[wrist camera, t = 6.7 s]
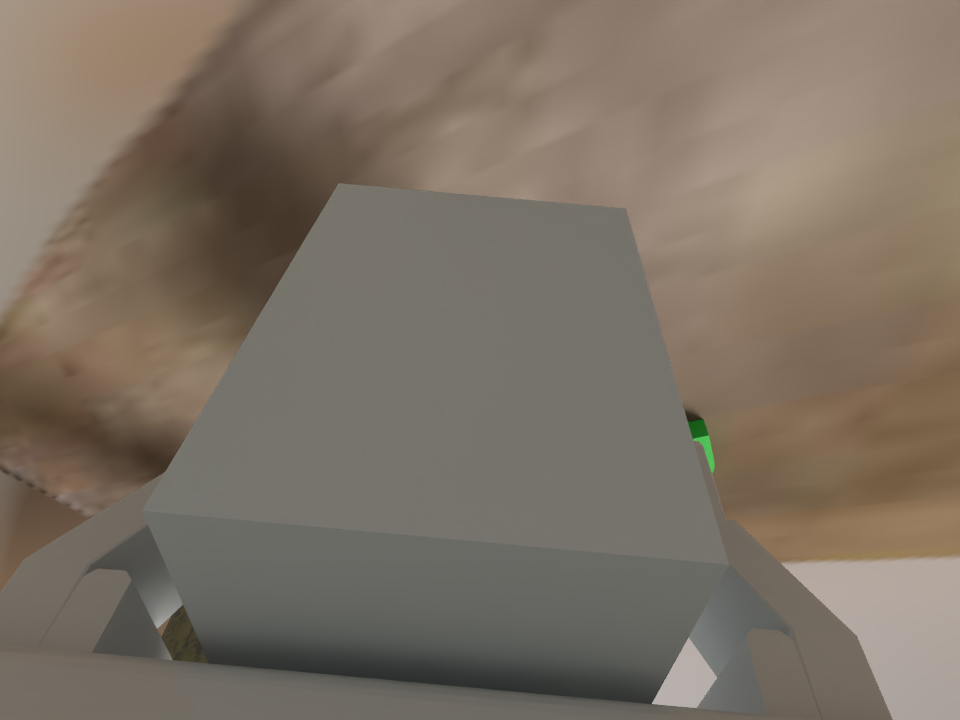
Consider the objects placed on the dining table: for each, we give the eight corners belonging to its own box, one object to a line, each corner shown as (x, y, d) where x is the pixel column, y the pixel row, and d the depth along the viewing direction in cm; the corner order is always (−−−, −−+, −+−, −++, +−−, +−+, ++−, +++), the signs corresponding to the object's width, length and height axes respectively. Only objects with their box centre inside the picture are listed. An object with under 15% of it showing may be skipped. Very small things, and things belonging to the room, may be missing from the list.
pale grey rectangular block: (626, 208, 11) (727, 564, 5) (552, 525, 16) (565, 857, 11) (338, 183, 11) (141, 509, 5) (364, 508, 16) (282, 830, 11)
